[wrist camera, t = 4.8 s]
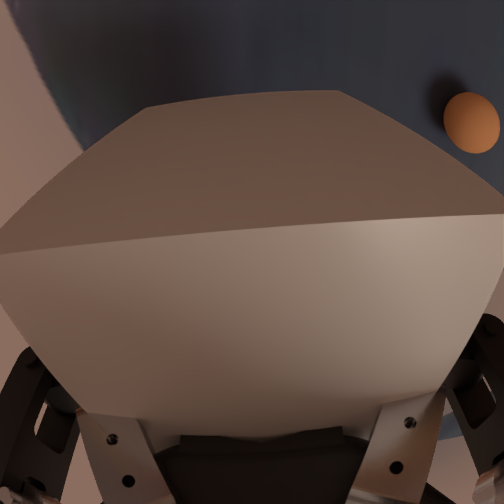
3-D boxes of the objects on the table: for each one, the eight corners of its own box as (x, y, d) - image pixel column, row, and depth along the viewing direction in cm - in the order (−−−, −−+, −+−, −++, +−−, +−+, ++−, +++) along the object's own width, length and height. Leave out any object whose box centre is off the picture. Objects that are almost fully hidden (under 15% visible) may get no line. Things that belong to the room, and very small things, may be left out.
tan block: (338, 90, 10) (523, 213, 3) (327, 315, 16) (362, 481, 9) (145, 107, 10) (-26, 257, 3) (197, 325, 16) (180, 492, 9)
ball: (478, 91, 20) (514, 105, 16) (472, 143, 23) (505, 164, 19) (434, 83, 20) (470, 95, 16) (430, 139, 23) (462, 161, 19)
